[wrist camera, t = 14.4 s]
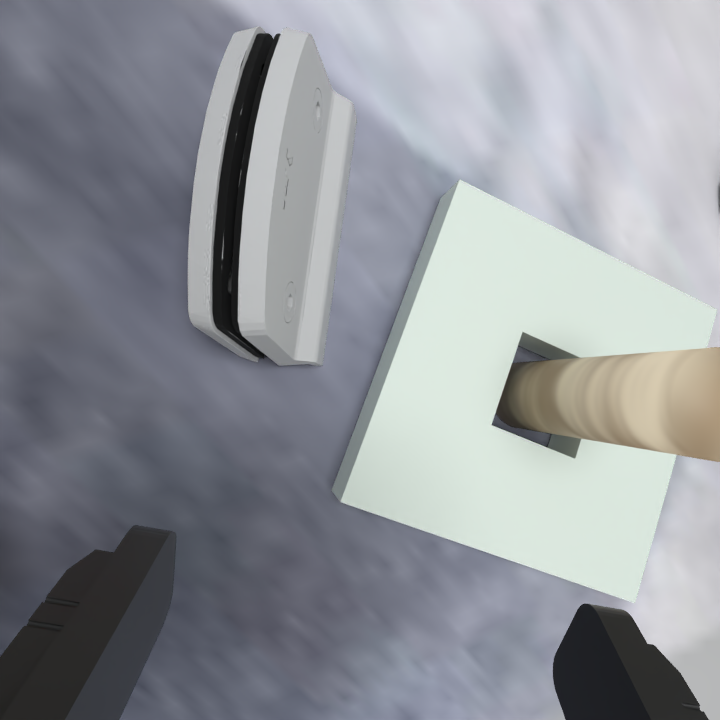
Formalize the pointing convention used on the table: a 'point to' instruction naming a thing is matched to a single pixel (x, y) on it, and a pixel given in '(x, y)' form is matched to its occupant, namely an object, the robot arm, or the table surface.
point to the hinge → (269, 200)
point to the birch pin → (622, 400)
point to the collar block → (484, 389)
